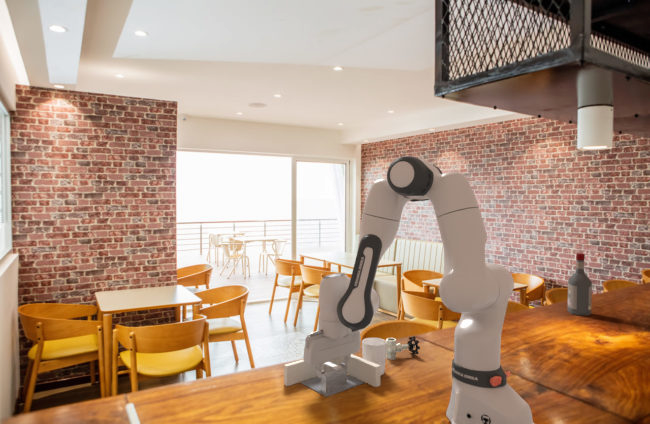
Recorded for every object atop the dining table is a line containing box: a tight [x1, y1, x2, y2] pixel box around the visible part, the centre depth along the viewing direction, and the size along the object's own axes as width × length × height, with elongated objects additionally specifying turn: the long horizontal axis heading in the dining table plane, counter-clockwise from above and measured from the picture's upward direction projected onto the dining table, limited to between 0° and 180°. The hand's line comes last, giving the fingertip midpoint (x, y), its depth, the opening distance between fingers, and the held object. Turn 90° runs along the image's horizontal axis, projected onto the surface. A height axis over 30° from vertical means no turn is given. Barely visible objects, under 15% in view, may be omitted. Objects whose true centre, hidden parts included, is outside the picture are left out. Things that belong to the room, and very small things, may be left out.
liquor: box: [566, 252, 593, 317], centre depth 218 cm, size 9×9×30 cm
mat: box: [300, 375, 365, 398], centre depth 131 cm, size 12×15×1 cm
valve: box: [385, 335, 421, 361], centre depth 155 cm, size 7×7×12 cm
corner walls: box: [283, 354, 382, 388], centre depth 130 cm, size 18×22×6 cm
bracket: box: [321, 362, 347, 394], centre depth 128 cm, size 8×8×5 cm
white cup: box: [361, 337, 387, 376], centre depth 140 cm, size 8×8×10 cm
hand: (332, 372), depth 131 cm, fingers open, 8 cm apart
